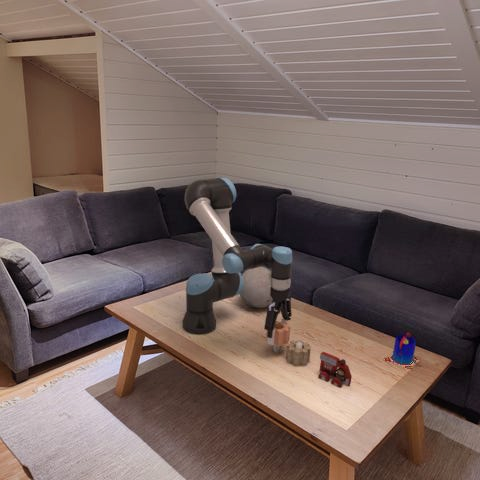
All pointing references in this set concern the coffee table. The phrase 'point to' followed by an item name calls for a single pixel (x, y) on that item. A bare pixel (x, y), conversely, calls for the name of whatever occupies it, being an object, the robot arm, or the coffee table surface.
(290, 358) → the gear
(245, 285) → the moon model
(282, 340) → the loose gear
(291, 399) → the coffee table surface
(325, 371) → the toy fire truck
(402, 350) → the fantasy tower
